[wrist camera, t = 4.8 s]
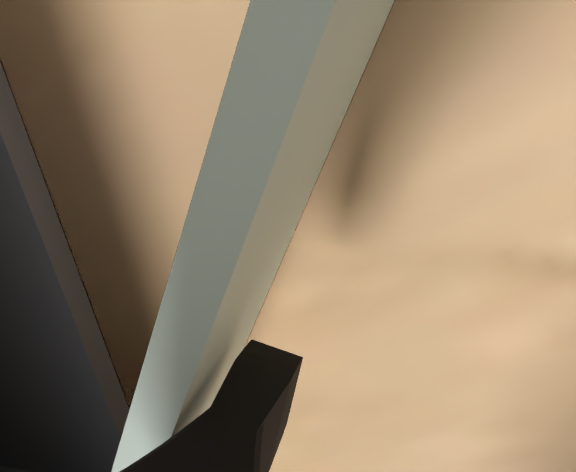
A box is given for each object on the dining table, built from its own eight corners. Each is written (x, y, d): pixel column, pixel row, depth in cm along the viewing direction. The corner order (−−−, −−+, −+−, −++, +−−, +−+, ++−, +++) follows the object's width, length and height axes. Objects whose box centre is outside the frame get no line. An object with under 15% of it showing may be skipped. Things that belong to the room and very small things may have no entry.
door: (179, 503, 19) (84, 677, 14) (155, 490, 19) (52, 658, 14) (444, -99, 9) (414, -179, 4) (389, -122, 9) (305, -224, 4)
